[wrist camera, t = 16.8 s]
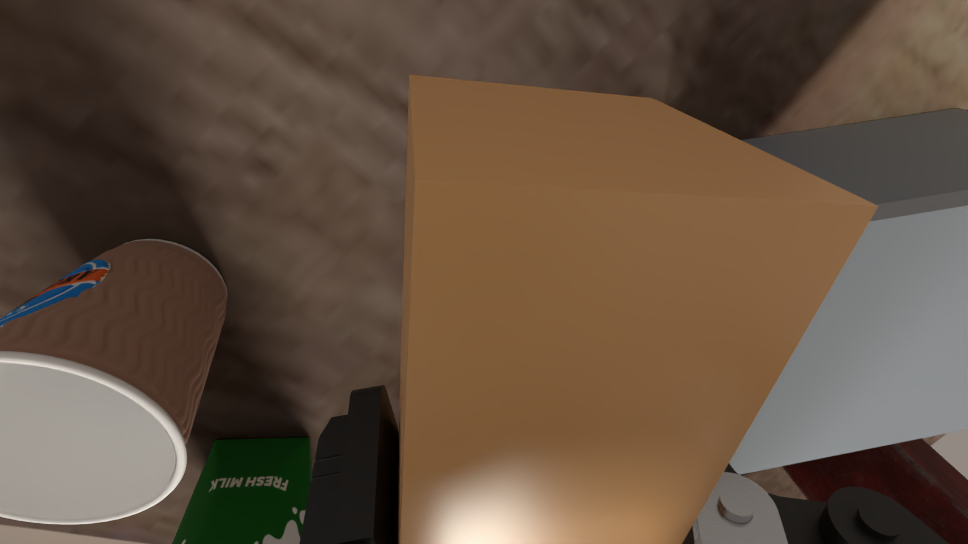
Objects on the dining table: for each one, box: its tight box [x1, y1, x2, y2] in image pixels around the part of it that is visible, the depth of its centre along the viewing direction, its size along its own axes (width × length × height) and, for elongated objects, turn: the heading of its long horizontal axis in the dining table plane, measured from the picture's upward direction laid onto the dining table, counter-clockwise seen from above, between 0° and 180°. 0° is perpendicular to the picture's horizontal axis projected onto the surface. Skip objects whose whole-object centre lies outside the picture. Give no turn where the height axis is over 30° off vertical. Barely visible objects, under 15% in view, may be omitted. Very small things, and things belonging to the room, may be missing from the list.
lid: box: [729, 190, 968, 475], centre depth 25 cm, size 17×20×1 cm
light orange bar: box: [398, 75, 878, 544], centre depth 10 cm, size 14×4×5 cm, turn 173°
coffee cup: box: [0, 239, 227, 524], centre depth 24 cm, size 10×10×12 cm
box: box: [741, 108, 968, 205], centre depth 30 cm, size 16×20×10 cm
